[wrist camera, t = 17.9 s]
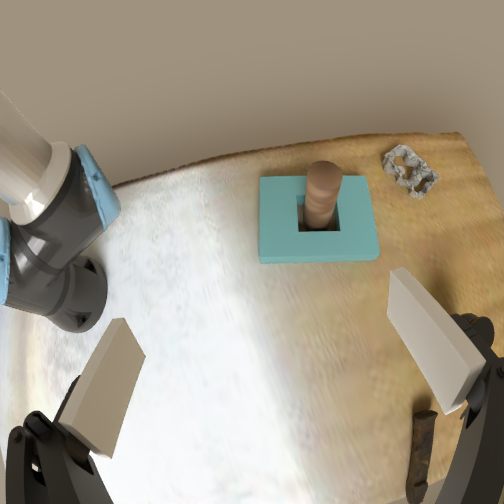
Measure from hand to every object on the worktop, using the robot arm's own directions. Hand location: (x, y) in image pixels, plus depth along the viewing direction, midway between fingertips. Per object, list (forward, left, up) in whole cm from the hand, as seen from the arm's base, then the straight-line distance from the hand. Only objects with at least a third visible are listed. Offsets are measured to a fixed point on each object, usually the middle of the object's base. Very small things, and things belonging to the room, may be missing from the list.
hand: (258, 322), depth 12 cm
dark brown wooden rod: (+24, -23, -28) cm, 43 cm away
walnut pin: (+6, +19, -28) cm, 34 cm away
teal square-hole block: (+6, +19, -28) cm, 34 cm away
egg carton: (+26, +29, -28) cm, 48 cm away
